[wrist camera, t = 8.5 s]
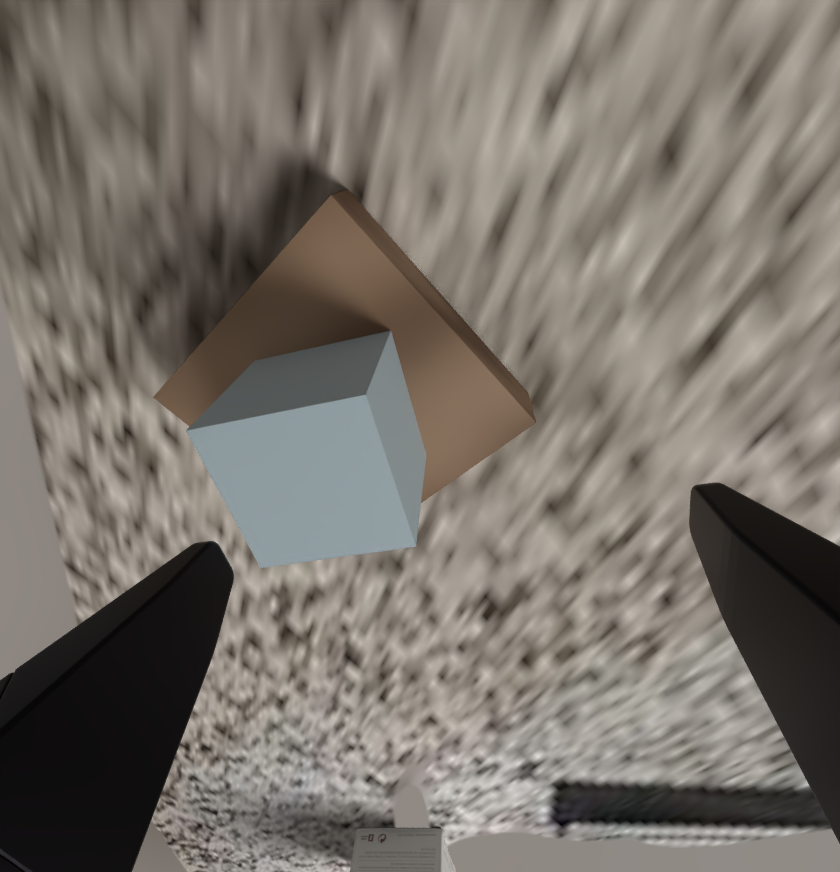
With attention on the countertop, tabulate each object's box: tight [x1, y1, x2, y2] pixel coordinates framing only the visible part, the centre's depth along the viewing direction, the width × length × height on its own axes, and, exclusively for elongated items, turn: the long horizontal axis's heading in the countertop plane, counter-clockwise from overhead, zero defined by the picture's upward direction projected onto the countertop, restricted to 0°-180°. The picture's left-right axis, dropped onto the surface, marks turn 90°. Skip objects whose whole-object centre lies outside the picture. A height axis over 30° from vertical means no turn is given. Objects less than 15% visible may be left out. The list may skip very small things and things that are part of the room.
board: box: [153, 189, 536, 503], centre depth 19 cm, size 10×10×2 cm
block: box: [186, 331, 426, 568], centre depth 16 cm, size 5×5×5 cm
